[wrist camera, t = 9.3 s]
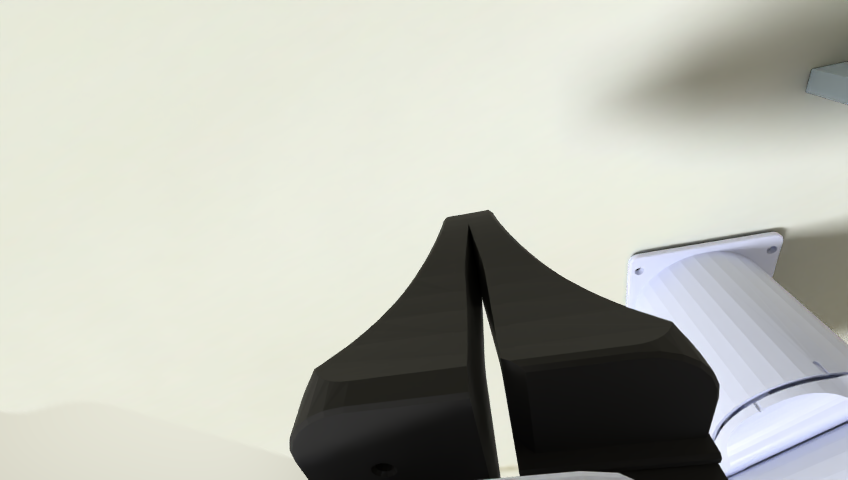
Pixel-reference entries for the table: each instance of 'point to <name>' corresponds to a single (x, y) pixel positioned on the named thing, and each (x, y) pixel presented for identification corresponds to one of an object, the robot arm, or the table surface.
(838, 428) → the robot arm
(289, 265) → the table surface
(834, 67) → the shaft seat
